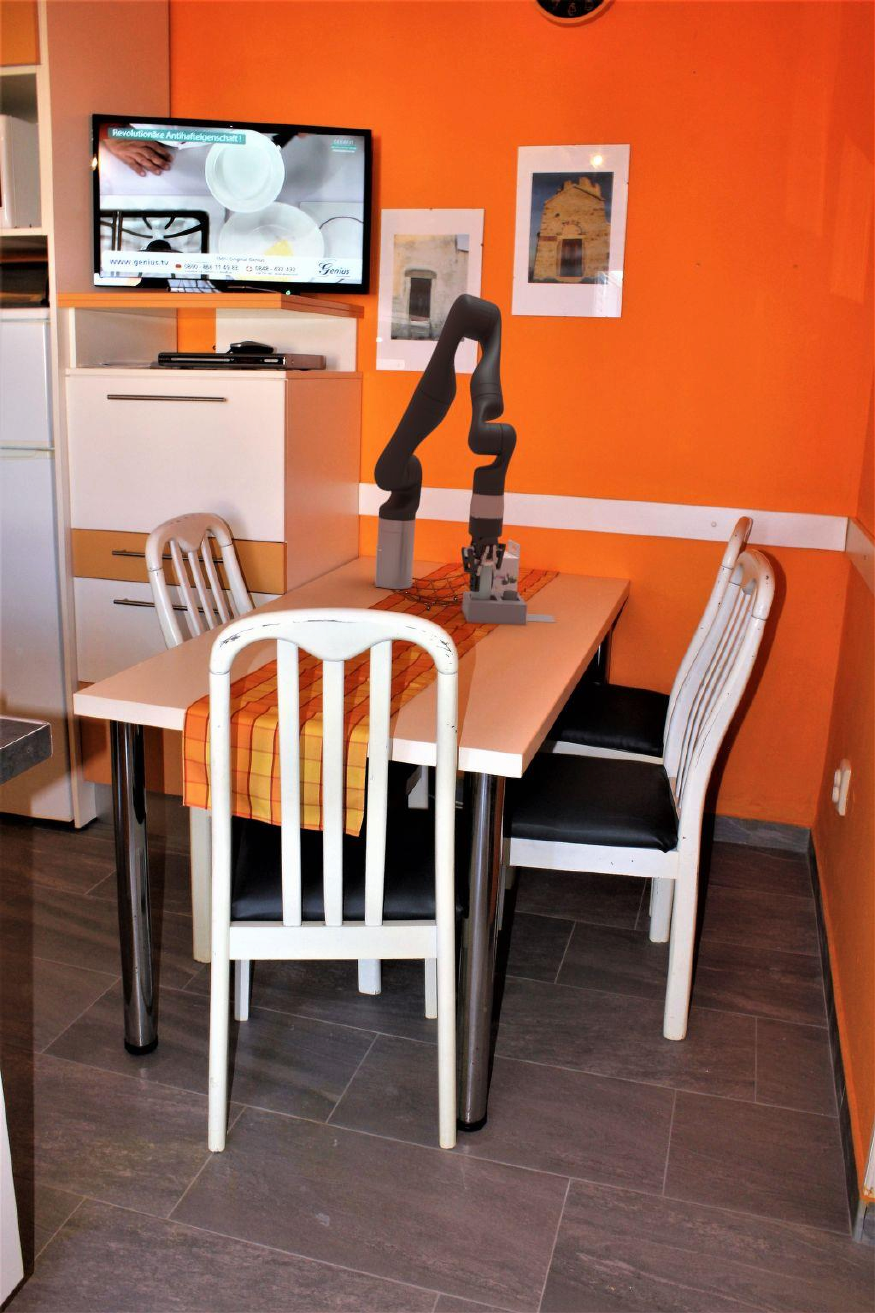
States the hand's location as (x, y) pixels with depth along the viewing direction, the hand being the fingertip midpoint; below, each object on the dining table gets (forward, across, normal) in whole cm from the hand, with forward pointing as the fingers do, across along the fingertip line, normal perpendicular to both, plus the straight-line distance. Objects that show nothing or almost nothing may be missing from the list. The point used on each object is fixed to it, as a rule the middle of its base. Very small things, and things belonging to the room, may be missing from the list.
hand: (480, 589), depth 252 cm
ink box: (+7, -20, -8) cm, 23 cm away
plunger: (+6, -5, +5) cm, 9 cm away
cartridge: (+6, 0, 0) cm, 6 cm away
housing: (+7, -3, +2) cm, 8 cm away
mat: (+7, -11, +9) cm, 16 cm away
